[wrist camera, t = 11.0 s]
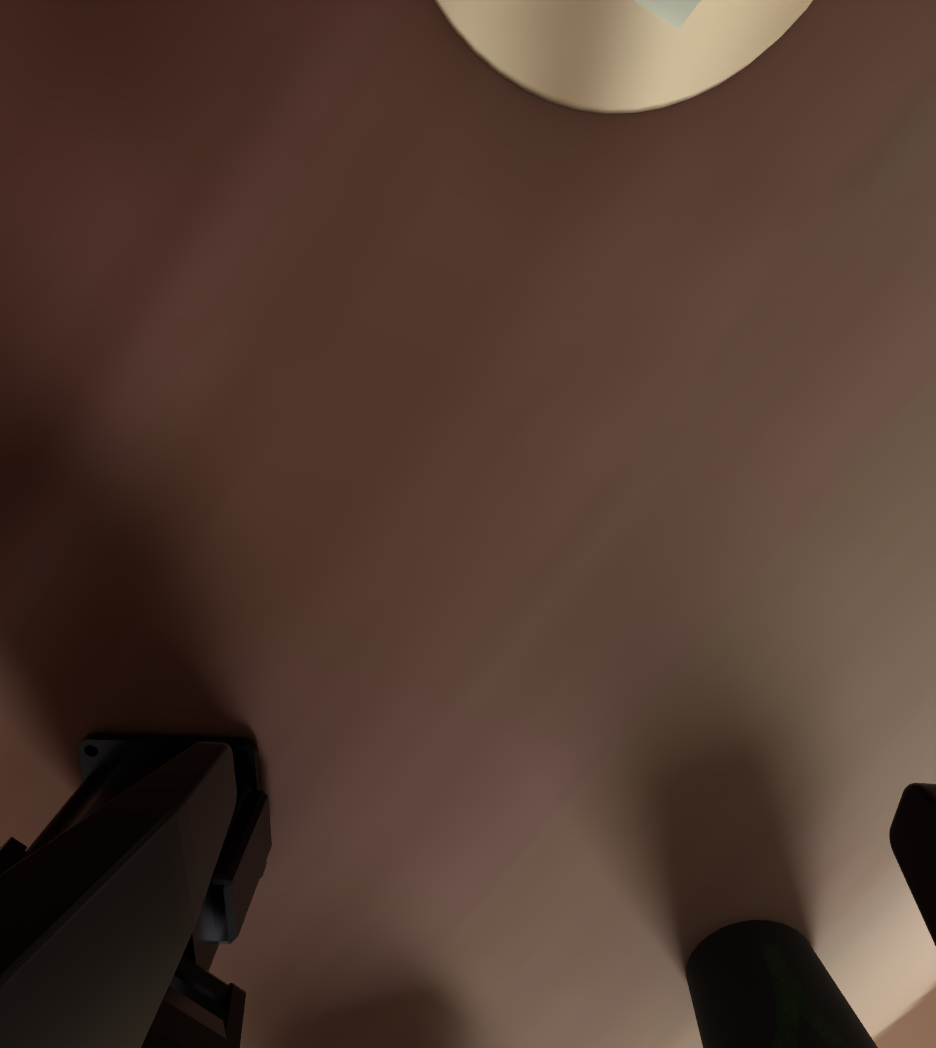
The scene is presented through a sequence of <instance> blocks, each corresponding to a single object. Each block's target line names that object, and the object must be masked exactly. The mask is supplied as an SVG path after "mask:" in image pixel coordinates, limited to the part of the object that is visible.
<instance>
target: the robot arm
mask: <svg viewBox="0 0 936 1048" xmlns="http://www.w3.org/2000/svg"><path fill="white" fill-rule="evenodd" d="M91 745H93V746H95V747H96V748H97V749H94V748H93V747H92V746H91ZM239 750H241V751H245V752H246V753H247V755H244V754H241V753H240V752H239ZM78 755H79V761H80V766H81V772H82V777H83V783H82V784H81V785H80V786H79V788H78V789H77V790H76V791H75V792H74V794H73V795H72V796H71V797H70V798H69V800H68V801H67V802H66V803H65V805H64V806H63V807H62V808H61V809H60V811H59V812H58V813H57V814H56V815H55V817H54V818H53V819H52V820H51V821H50V823H49V824H48V825H47V826H46V828H45V829H44V830H43V831H42V832H41V834H40V835H39V836H38V837H37V838H36V840H35V841H34V842H33V843H32V844H31V846H30V847H29V848H28V849H27V851H25V850H26V848H27V847H26V846H25V845H23V844H22V843H20V842H19V841H17V840H16V839H14V838H13V837H11V838H10V839H8V840H7V841H6V842H5V843H4V844H3V845H2V846H1V847H0V1048H240V1039H241V1031H242V1022H243V1014H244V1005H245V997H246V992H245V991H243V990H242V989H240V988H239V987H237V986H236V985H234V984H233V983H230V984H229V985H228V984H226V983H225V982H223V981H222V980H220V979H219V978H217V977H216V976H214V975H213V974H211V973H210V972H208V971H209V969H210V966H211V964H212V961H213V958H214V956H215V953H216V951H217V948H218V946H219V944H230V943H232V942H233V941H234V940H235V939H236V938H237V937H238V935H239V932H240V930H241V927H242V924H243V922H244V919H245V916H246V913H247V911H248V908H249V905H250V903H251V900H252V897H253V895H254V892H255V889H256V886H257V884H258V881H259V879H260V878H261V877H262V876H263V873H264V871H265V868H266V859H267V857H268V854H269V851H270V849H271V845H272V843H271V828H270V814H269V799H268V795H267V794H266V793H265V791H263V790H261V782H260V769H259V755H258V748H257V745H256V744H255V743H254V741H252V740H250V739H247V738H233V737H205V736H178V735H150V734H122V733H90V734H88V735H87V736H86V737H85V738H84V739H83V740H82V741H81V742H80V744H79V745H78ZM889 837H890V844H891V847H892V850H893V853H894V855H895V857H896V859H897V862H898V864H899V866H900V868H901V871H902V873H903V875H904V877H905V879H906V882H907V884H908V886H909V888H910V890H911V893H912V895H913V897H914V899H915V901H916V904H917V906H918V908H919V910H920V913H921V915H922V917H923V919H924V921H925V924H926V926H927V928H928V930H929V932H930V935H931V937H932V939H933V941H934V943H935V946H936V784H926V783H912V784H909V785H908V786H907V787H906V788H905V789H904V791H903V794H902V797H901V799H900V802H899V805H898V808H897V810H896V813H895V816H894V819H893V821H892V824H891V827H890V835H889Z"/></svg>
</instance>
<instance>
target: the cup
mask: <svg viewBox="0 0 936 1048" xmlns="http://www.w3.org/2000/svg"><path fill="white" fill-rule="evenodd" d="M687 982H688V986H689V990H690V994H691V999H692V1003H693V1007H694V1011H695V1015H696V1019H697V1024H698V1028H699V1032H700V1036H701V1040H702V1045H703V1048H878V1047H877V1046H876V1044H875V1043H874V1041H873V1040H872V1038H871V1037H870V1035H869V1034H868V1032H867V1031H866V1029H865V1028H864V1026H863V1025H862V1023H861V1022H860V1020H859V1019H858V1017H857V1015H856V1014H855V1012H854V1011H853V1009H852V1008H851V1006H850V1005H849V1003H848V1002H847V1000H846V999H845V997H844V996H843V994H842V993H841V991H840V990H839V988H838V987H837V985H836V984H835V982H834V981H833V979H832V978H831V976H830V974H829V973H828V971H827V970H826V968H825V967H824V965H823V964H822V962H821V961H820V959H819V958H818V956H817V955H816V953H815V952H814V950H813V949H812V947H811V946H810V944H809V943H808V941H807V940H806V938H805V937H804V936H803V935H801V934H800V933H799V932H798V931H797V930H795V929H793V928H791V927H789V926H786V925H784V924H781V923H776V922H772V921H747V922H741V923H736V924H733V925H730V926H727V927H724V928H722V929H720V930H718V931H716V932H715V933H713V934H711V935H709V936H708V937H707V938H706V939H705V940H703V941H702V942H701V943H700V944H699V945H698V946H697V947H696V949H695V950H694V952H693V953H692V954H691V956H690V959H689V962H688V965H687Z"/></svg>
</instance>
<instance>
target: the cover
mask: <svg viewBox="0 0 936 1048" xmlns="http://www.w3.org/2000/svg"><path fill="white" fill-rule="evenodd" d="M634 1H635V2H637V3H638V4H640V5H641V6H643V7H644V8H646V9H647V10H649V11H650V12H652V13H653V14H655V15H656V16H658V17H659V18H661V19H662V20H664V21H665V22H667V23H668V24H670V25H672V26H673V27H675V28H676V29H678V30H679V29H680V28H681V27H682V25H683V24H684V22H685V21H686V20H687V18H688V17H689V16H690V14H691V13H692V12H693V10H694V9H695V8H696V6H697V5H698V3H699V2H700V1H701V0H634Z"/></svg>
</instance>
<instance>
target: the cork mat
mask: <svg viewBox="0 0 936 1048" xmlns="http://www.w3.org/2000/svg"><path fill="white" fill-rule="evenodd" d="M812 1H813V0H701V1H700V2H699V3H698V5H697V6H696V8H695V9H694V10H693V12H692V13H691V14H690V16H689V17H688V18H687V20H686V21H685V22H684V24H683V25H682V27H681V28H680V29H679V30H678V29H676V28H675V27H673V26H672V25H670V24H668V23H667V22H665V21H664V20H662V19H661V18H659V17H658V16H656V15H655V14H653V13H652V12H650V11H649V10H647V9H646V8H644V7H643V6H641V5H640V4H638V3H637V2H635V1H634V0H434V2H435V3H436V5H437V6H438V8H439V9H440V11H441V12H442V13H443V15H444V16H445V18H446V19H447V21H448V22H449V24H450V25H451V27H452V28H453V30H454V31H455V32H456V33H457V34H458V35H459V36H460V38H461V39H462V40H463V41H464V42H465V43H466V44H467V46H468V47H469V48H470V49H471V50H472V51H473V52H474V54H476V55H477V56H478V57H479V58H480V59H481V60H482V61H484V62H485V63H486V64H487V65H488V66H489V67H490V68H492V69H493V70H494V71H495V72H496V73H497V74H499V75H500V76H502V77H503V78H505V79H506V80H508V81H510V82H511V83H513V84H514V85H516V86H517V87H519V88H520V89H522V90H524V91H526V92H528V93H530V94H532V95H534V96H537V97H539V98H541V99H543V100H545V101H547V102H550V103H553V104H557V105H560V106H564V107H567V108H571V109H574V110H579V111H587V112H594V113H602V114H619V113H637V112H643V111H648V110H654V109H660V108H664V107H667V106H670V105H673V104H676V103H679V102H682V101H685V100H688V99H691V98H693V97H695V96H697V95H699V94H701V93H703V92H705V91H707V90H710V89H712V88H714V87H716V86H718V85H719V84H721V83H722V82H724V81H725V80H727V79H728V78H730V77H731V76H733V75H735V74H736V73H738V72H739V71H741V70H742V69H744V68H745V67H746V66H747V65H749V64H750V63H751V62H752V61H753V60H754V59H756V58H757V57H758V56H759V55H760V54H762V53H763V52H764V51H765V50H766V49H767V48H769V47H770V46H771V45H772V44H773V43H774V42H775V41H776V40H778V39H779V38H780V37H781V36H782V35H783V34H784V33H785V32H786V31H787V29H788V28H789V27H790V26H791V25H792V24H793V23H794V22H795V21H796V20H797V19H798V18H799V17H800V16H801V14H802V13H803V12H804V11H805V10H806V9H807V8H808V6H809V5H810V4H811V2H812Z"/></svg>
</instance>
